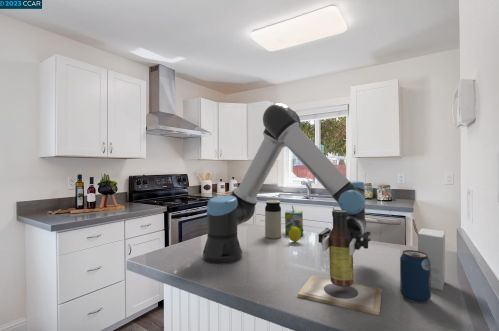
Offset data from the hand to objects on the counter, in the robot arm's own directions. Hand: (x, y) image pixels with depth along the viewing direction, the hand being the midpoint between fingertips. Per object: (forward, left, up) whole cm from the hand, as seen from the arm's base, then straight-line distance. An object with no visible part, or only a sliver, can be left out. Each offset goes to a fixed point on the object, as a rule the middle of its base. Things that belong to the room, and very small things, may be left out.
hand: (337, 247), depth 71 cm
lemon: (-28, +48, -14) cm, 57 cm away
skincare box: (+23, +25, -14) cm, 37 cm away
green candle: (-34, +65, -14) cm, 75 cm away
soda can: (+18, +12, -14) cm, 26 cm away
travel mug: (-41, +53, -14) cm, 69 cm away
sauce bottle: (0, +5, -11) cm, 12 cm away
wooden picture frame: (0, +5, -14) cm, 15 cm away
